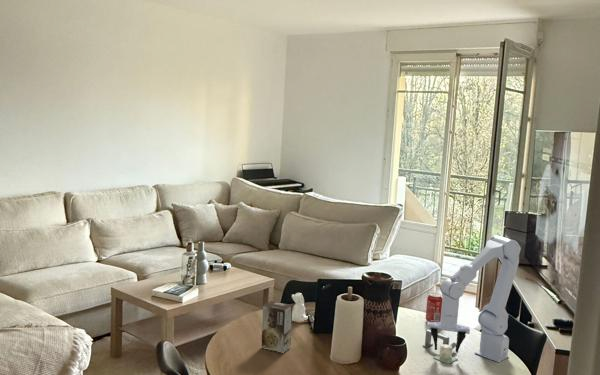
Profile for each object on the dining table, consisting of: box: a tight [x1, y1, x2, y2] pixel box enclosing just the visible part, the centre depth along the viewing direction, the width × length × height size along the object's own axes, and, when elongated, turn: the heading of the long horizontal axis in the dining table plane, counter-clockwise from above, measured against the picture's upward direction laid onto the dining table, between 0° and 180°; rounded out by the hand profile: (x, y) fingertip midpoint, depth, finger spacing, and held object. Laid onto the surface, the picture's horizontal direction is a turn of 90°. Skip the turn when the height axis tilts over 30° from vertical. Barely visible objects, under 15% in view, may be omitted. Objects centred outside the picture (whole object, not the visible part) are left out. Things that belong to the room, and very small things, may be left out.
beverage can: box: [425, 292, 443, 322], centre depth 233 cm, size 6×6×12 cm
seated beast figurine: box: [291, 292, 309, 322], centre depth 226 cm, size 10×9×12 cm
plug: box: [439, 342, 457, 360], centre depth 200 cm, size 4×12×4 cm, turn 146°
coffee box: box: [261, 300, 294, 353], centre depth 197 cm, size 9×6×16 cm
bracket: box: [422, 329, 450, 349], centre depth 205 cm, size 9×4×6 cm, turn 44°
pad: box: [433, 354, 458, 365], centre depth 197 cm, size 6×6×1 cm
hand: (446, 350), depth 197 cm, fingers open, 7 cm apart
